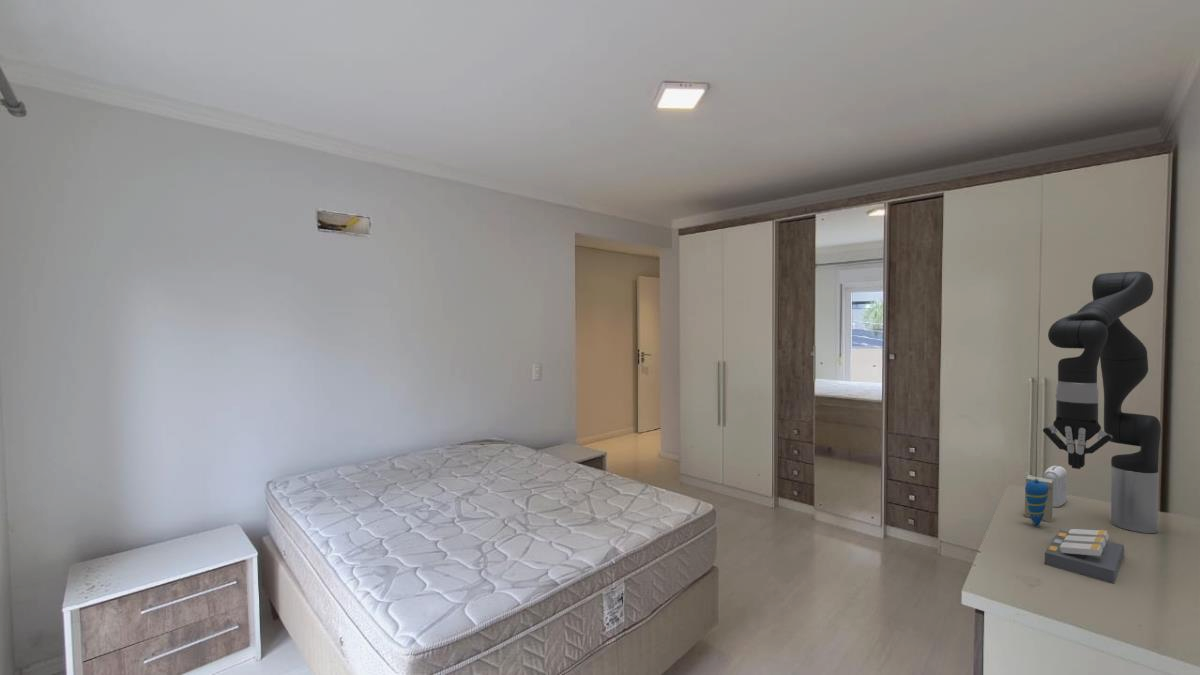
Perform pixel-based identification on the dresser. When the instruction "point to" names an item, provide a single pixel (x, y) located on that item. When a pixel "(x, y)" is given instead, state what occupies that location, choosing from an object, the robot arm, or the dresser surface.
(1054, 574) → the dresser surface
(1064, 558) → the switch unit
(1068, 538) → the rocker middle
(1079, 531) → the rocker inner
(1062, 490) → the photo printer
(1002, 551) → the dresser surface
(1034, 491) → the ornament
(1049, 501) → the skincare box
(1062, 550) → the rocker outer
